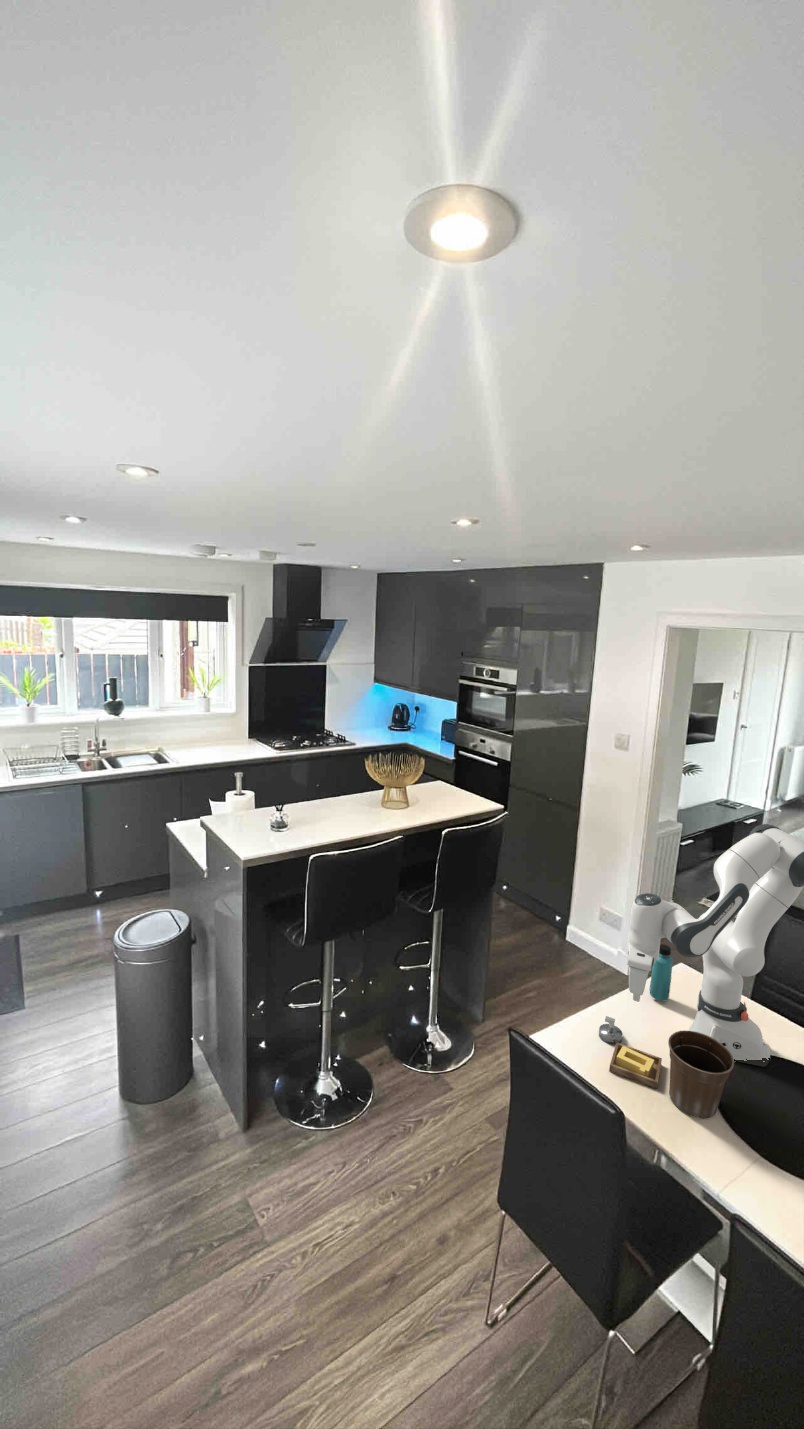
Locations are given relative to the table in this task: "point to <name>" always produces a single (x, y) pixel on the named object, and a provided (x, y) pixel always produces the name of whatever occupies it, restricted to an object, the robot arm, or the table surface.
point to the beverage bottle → (661, 974)
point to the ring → (634, 1061)
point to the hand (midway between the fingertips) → (638, 991)
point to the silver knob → (610, 1032)
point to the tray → (623, 1072)
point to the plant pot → (697, 1072)
